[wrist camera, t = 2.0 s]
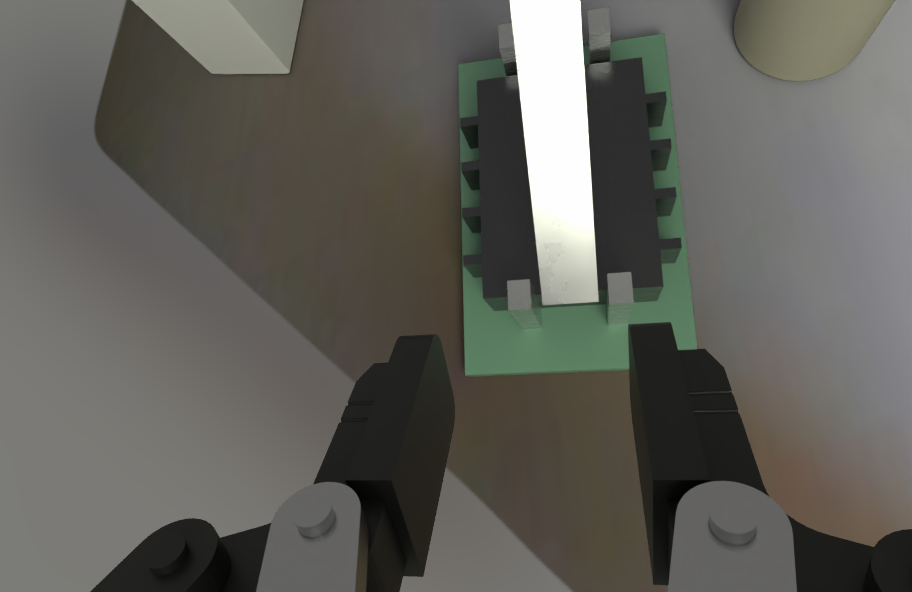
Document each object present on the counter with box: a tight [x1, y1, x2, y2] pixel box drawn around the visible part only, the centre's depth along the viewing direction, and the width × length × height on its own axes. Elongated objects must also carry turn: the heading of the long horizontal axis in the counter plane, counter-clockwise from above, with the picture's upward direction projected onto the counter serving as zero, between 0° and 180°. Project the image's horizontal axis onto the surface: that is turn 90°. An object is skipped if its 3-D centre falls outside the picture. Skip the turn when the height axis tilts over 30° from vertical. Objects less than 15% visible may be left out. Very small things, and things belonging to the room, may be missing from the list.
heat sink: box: [460, 7, 682, 330], centre depth 37 cm, size 17×12×7 cm
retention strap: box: [510, 0, 599, 305], centre depth 31 cm, size 16×3×1 cm
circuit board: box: [458, 34, 697, 377], centre depth 41 cm, size 22×14×1 cm, turn 2°
